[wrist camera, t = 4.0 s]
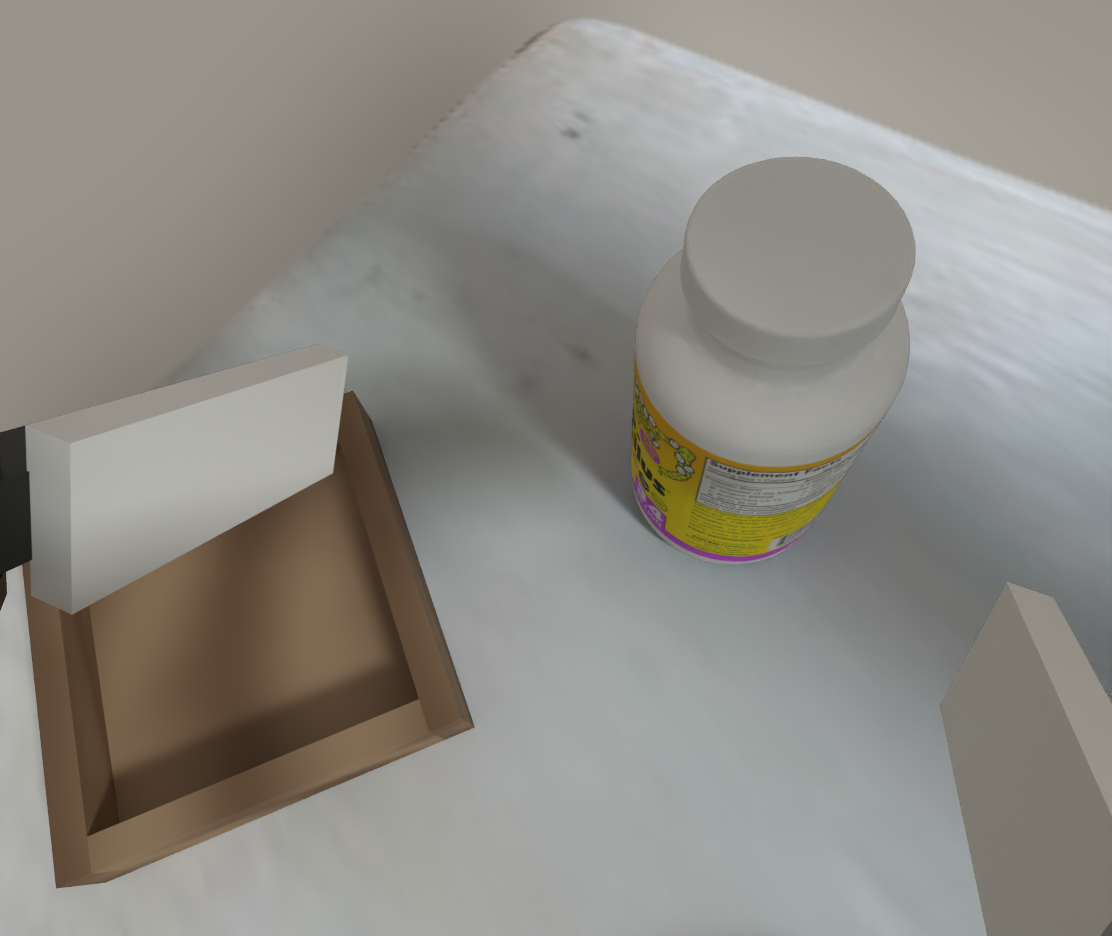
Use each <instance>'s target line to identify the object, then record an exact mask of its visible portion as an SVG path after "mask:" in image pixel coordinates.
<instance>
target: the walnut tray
mask: <svg viewBox="0 0 1112 936" xmlns="http://www.w3.org/2000/svg"><path fill="white" fill-rule="evenodd" d="M22 567H23V577H24V586H25V596H26V605H27V615H28V624H29V634H30V643H31V653H32V662H33V672H34V682H35V691H36V701H37V710H38V720H39V729H40V739H41V748H42V758H43V767H44V777H45V786H46V796H47V805H48V815H49V824H50V834H51V843H52V853H53V862H54V872H55V882H56V888H63V887H72V886H80V885H89V884H97V883H105V882H108V881H110V880H113V879H115V878H117V877H120V876H122V875H124V874H127V873H129V872H132V871H134V870H136V869H139V868H141V867H143V866H146V865H148V864H151V863H153V862H155V861H158V860H160V859H162V858H165V857H167V856H170V855H172V854H174V853H177V852H179V851H181V850H184V849H186V848H189V847H191V846H193V845H196V844H198V843H200V842H203V841H205V840H208V839H210V838H212V837H215V836H217V835H220V834H222V833H224V832H227V831H229V830H231V829H234V828H236V827H239V826H241V825H243V824H246V823H248V822H250V821H253V820H255V819H258V818H260V817H262V816H265V815H267V814H269V813H272V812H274V811H277V810H279V809H281V808H284V807H286V806H288V805H291V804H293V803H296V802H298V801H300V800H303V799H305V798H307V797H310V796H312V795H315V794H317V793H319V792H322V791H324V790H326V789H329V788H331V787H334V786H336V785H338V784H341V783H343V782H345V781H348V780H350V779H353V778H355V777H357V776H360V775H362V774H364V773H367V772H369V771H372V770H374V769H376V768H379V767H381V766H383V765H386V764H388V763H391V762H393V761H395V760H398V759H400V758H403V757H405V756H407V755H410V754H412V753H414V752H417V751H419V750H422V749H424V748H426V747H429V746H431V745H433V744H436V743H438V742H441V741H443V740H445V739H448V738H450V737H452V736H455V735H457V734H460V733H462V732H464V731H467V730H469V729H471V728H474V724H473V721H472V718H471V715H470V712H469V709H468V706H467V703H466V700H465V697H464V694H463V691H462V688H461V685H460V682H459V679H458V677H457V674H456V671H455V668H454V665H453V662H452V659H451V656H450V653H449V650H448V647H447V644H446V641H445V638H444V635H443V632H442V629H441V626H440V623H439V620H438V617H437V614H436V611H435V608H434V605H433V602H432V599H431V596H430V593H429V590H428V587H427V584H426V581H425V578H424V575H423V572H422V569H421V567H420V564H419V561H418V558H417V555H416V552H415V549H414V546H413V543H412V540H411V537H410V534H409V531H408V528H407V525H406V522H405V519H404V516H403V513H402V510H401V507H400V504H399V501H398V498H397V495H396V492H395V489H394V486H393V483H392V480H391V477H390V474H389V471H388V468H387V465H386V462H385V459H384V457H383V454H382V451H381V448H380V445H379V442H378V439H377V436H376V433H375V430H374V427H373V424H372V421H371V419H370V418H369V416H368V414H367V413H366V411H365V409H364V408H363V406H362V405H361V403H360V401H359V400H358V398H357V396H356V395H355V393H354V392H353V391H351V392H348V393H345V394H343V401H342V409H341V416H340V424H339V431H338V438H337V446H336V453H335V461H334V468H333V473H332V474H330V475H329V476H327V477H325V478H323V479H321V480H319V481H318V482H316V483H314V484H312V485H310V486H308V487H306V488H305V489H303V490H301V491H299V492H297V493H295V494H294V495H292V496H290V497H288V498H286V499H284V500H283V501H281V502H279V503H277V504H275V505H273V506H271V507H270V508H268V509H266V510H264V511H262V512H260V513H259V514H257V515H255V516H253V517H251V518H249V519H248V520H246V521H244V522H242V523H240V524H238V525H236V526H235V527H233V528H231V529H229V530H227V531H225V532H224V533H222V534H220V535H218V536H216V537H214V538H213V539H211V540H209V541H207V542H205V543H203V544H201V545H200V546H198V547H196V548H194V549H192V550H190V551H189V552H187V553H185V554H183V555H181V556H179V557H178V558H176V559H174V560H172V561H170V562H168V563H166V564H165V565H163V566H161V567H159V568H157V569H155V570H154V571H152V572H150V573H148V574H146V575H144V576H143V577H141V578H139V579H137V580H135V581H133V582H131V583H130V584H128V585H126V586H124V587H122V588H120V589H119V590H117V591H115V592H113V593H111V594H109V595H108V596H106V597H104V598H102V599H100V600H98V601H96V602H95V603H93V604H91V605H89V606H87V607H85V608H84V609H82V610H80V611H78V612H76V613H74V614H73V615H71V614H69V613H67V612H65V611H63V610H61V609H58V608H56V607H54V606H52V605H50V604H48V603H46V602H43V601H41V600H39V599H37V598H35V597H33V596H31V577H30V561H29V562H26V563H24V564H22Z"/></svg>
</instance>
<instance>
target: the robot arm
mask: <svg viewBox="0 0 1112 936" xmlns="http://www.w3.org/2000/svg"><path fill="white" fill-rule="evenodd" d="M348 356H349V355H347V354H344V353H341V352H338V351H335V350H333V349H330V348H327V347H324V346H321V345H318V344H316V345H313V346H309V347H305V348H302V349H298V350H295V351H291V352H287V353H284V354H280V355H277V356H273V357H269V358H266V359H262V360H259V361H255V362H251V363H248V364H244V365H241V366H237V367H233V368H230V369H226V370H223V371H219V372H215V373H212V374H208V375H205V376H201V377H197V378H194V379H190V380H187V381H183V382H179V383H176V384H172V385H169V386H165V387H161V388H158V389H154V390H151V391H147V392H143V393H140V394H136V395H133V396H129V397H125V398H122V399H118V400H115V401H111V402H107V403H104V404H100V405H97V406H93V407H89V408H86V409H82V410H79V411H75V412H72V413H68V414H64V415H61V416H57V417H53V418H50V419H47V420H43V421H39V422H35V423H32V424H28V425H25V426H22V427H18V428H15V429H11V430H8V431H4V432H0V610H1V608H2V605H3V602H4V600H5V597H6V595H7V583H6V571H9V570H11V569H13V568H15V567H18V566H20V565H22V564H24V563H26V562H29V561H30V577H31V596H33V597H35V598H37V599H39V600H41V601H43V602H46V603H48V604H50V605H52V606H54V607H56V608H58V609H61V610H63V611H65V612H67V613H69V614H71V615H73V614H74V613H76V612H78V611H80V610H82V609H84V608H85V607H87V606H89V605H91V604H93V603H95V602H96V601H98V600H100V599H102V598H104V597H106V596H108V595H109V594H111V593H113V592H115V591H117V590H119V589H120V588H122V587H124V586H126V585H128V584H130V583H131V582H133V581H135V580H137V579H139V578H141V577H143V576H144V575H146V574H148V573H150V572H152V571H154V570H155V569H157V568H159V567H161V566H163V565H165V564H166V563H168V562H170V561H172V560H174V559H176V558H178V557H179V556H181V555H183V554H185V553H187V552H189V551H190V550H192V549H194V548H196V547H198V546H200V545H201V544H203V543H205V542H207V541H209V540H211V539H213V538H214V537H216V536H218V535H220V534H222V533H224V532H225V531H227V530H229V529H231V528H233V527H235V526H236V525H238V524H240V523H242V522H244V521H246V520H248V519H249V518H251V517H253V516H255V515H257V514H259V513H260V512H262V511H264V510H266V509H268V508H270V507H271V506H273V505H275V504H277V503H279V502H281V501H283V500H284V499H286V498H288V497H290V496H292V495H294V494H295V493H297V492H299V491H301V490H303V489H305V488H306V487H308V486H310V485H312V484H314V483H316V482H318V481H319V480H321V479H323V478H325V477H327V476H329V475H330V474H332V473H333V468H334V461H335V453H336V446H337V438H338V431H339V424H340V416H341V409H342V401H343V394H344V386H345V379H346V371H347V364H348ZM940 708H941V713H942V718H943V723H944V728H945V732H946V737H947V742H948V747H949V752H950V757H951V762H952V766H953V771H954V776H955V781H956V786H957V791H958V796H959V800H960V805H961V810H962V815H963V820H964V825H965V830H966V835H967V839H968V844H969V849H970V854H971V859H972V864H973V869H974V873H975V878H976V883H977V888H978V893H979V898H980V903H981V907H982V912H983V917H984V922H985V927H986V932H987V936H1112V703H1111V701H1110V699H1109V698H1108V696H1107V694H1106V692H1105V690H1104V688H1103V687H1102V685H1101V683H1100V681H1099V679H1098V677H1097V676H1096V674H1095V672H1094V670H1093V668H1092V667H1091V665H1090V663H1089V661H1088V659H1087V657H1086V656H1085V654H1084V652H1083V650H1082V648H1081V646H1080V645H1079V643H1078V641H1077V639H1076V637H1075V635H1074V634H1073V632H1072V630H1071V628H1070V626H1069V625H1068V623H1067V621H1066V619H1065V617H1064V615H1063V614H1062V612H1061V610H1060V608H1059V606H1058V604H1057V603H1056V601H1055V599H1054V598H1053V597H1050V596H1047V595H1044V594H1041V593H1039V592H1036V591H1033V590H1030V589H1027V588H1024V587H1021V586H1018V585H1015V584H1012V583H1010V582H1006V584H1005V586H1004V588H1003V590H1002V592H1001V593H1000V595H999V597H998V599H997V601H996V603H995V605H994V606H993V608H992V610H991V612H990V614H989V616H988V618H987V620H986V621H985V623H984V625H983V627H982V629H981V631H980V633H979V634H978V636H977V638H976V640H975V642H974V644H973V646H972V647H971V649H970V651H969V653H968V655H967V657H966V659H965V661H964V662H963V664H962V666H961V668H960V670H959V672H958V674H957V675H956V677H955V679H954V681H953V683H952V685H951V687H950V689H949V690H948V692H947V694H946V696H945V698H944V700H943V702H942V703H941V705H940Z"/></svg>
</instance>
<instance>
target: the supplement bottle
mask: <svg viewBox="0 0 1112 936" xmlns="http://www.w3.org/2000/svg"><path fill="white" fill-rule="evenodd" d="M914 265H915V239H914V236H913V232H912V228H911V225H910V223H909V221H908V219H907V217H906V215H905V213H904V211H903V209H902V208H901V206H900V205H899V204H898V202H897V201H896V200H895V199H894V198H893V197H892V196H891V195H890V193H889V192H888V191H886V190H885V189H884V188H883V187H882V186H881V185H879V184H878V183H877V182H875V181H874V180H873V179H871V178H869V177H867V176H866V175H864V174H862V173H861V172H859V171H857V170H856V169H853V168H850V167H848V166H845V165H842V164H839V163H836V162H832V161H828V160H824V159H818V158H809V157H781V158H774V159H769V160H764V161H760V162H756V163H753V164H749V165H746V166H744V167H741V168H739V169H736V170H735V171H733V172H731V173H729V174H728V175H726V176H724V177H722V178H721V179H720V180H719V181H717V182H716V183H715V184H714V185H712V186H711V187H710V188H709V189H708V190H707V191H706V192H705V193H704V195H703V196H702V197H701V198H700V199H699V201H698V203H697V204H696V206H695V208H694V210H693V212H692V214H691V216H690V218H689V221H688V224H687V228H686V233H685V239H684V247H683V250H681V251H680V252H679V253H677V254H676V255H675V256H674V257H673V258H672V259H670V260H669V262H668V263H667V264H666V265H665V266H664V267H663V269H662V270H661V271H660V272H659V273H658V275H657V276H656V278H655V279H654V281H653V282H652V284H651V285H650V287H649V289H648V291H647V293H646V296H645V298H644V300H643V303H642V306H641V309H640V313H639V317H638V322H637V329H636V340H635V369H634V392H633V418H632V446H631V477H632V485H633V490H634V494H635V497H636V500H637V503H638V506H639V508H640V510H641V512H642V513H643V515H644V517H645V519H646V520H647V521H648V523H649V524H650V526H651V527H652V528H653V529H654V530H655V532H656V533H657V534H658V535H659V536H660V537H661V538H662V539H664V540H665V541H666V542H667V543H669V544H670V545H671V546H673V547H674V548H676V549H677V550H679V551H681V552H683V553H685V554H686V555H689V556H691V557H694V558H696V559H699V560H702V561H705V562H709V563H714V564H723V565H738V564H748V563H755V562H758V561H762V560H765V559H768V558H771V557H773V556H775V555H777V554H779V553H781V552H783V551H785V550H786V549H788V548H789V547H790V546H792V545H793V544H794V543H795V542H797V541H798V540H799V539H800V538H801V537H802V536H803V535H804V534H805V533H806V532H807V530H808V529H809V528H810V527H811V525H812V524H813V523H814V521H815V520H816V518H817V517H818V516H819V514H820V513H821V511H822V510H823V508H824V507H825V505H826V503H827V502H828V500H829V499H830V497H831V496H832V494H833V493H834V491H835V490H836V488H837V487H838V485H839V484H840V482H841V480H842V479H843V478H844V476H845V475H846V473H847V471H848V470H849V468H850V467H851V465H852V464H853V462H854V460H855V459H856V457H857V456H858V454H859V453H860V451H861V450H862V448H863V447H864V445H865V444H866V442H867V441H868V439H869V438H870V436H871V435H872V434H873V432H874V431H875V429H876V428H877V426H878V425H879V423H880V422H881V420H882V419H883V418H884V416H885V415H886V413H887V411H888V410H889V408H890V406H891V405H892V403H893V402H894V400H895V398H896V396H897V394H898V393H899V391H900V388H901V386H902V384H903V381H904V377H905V374H906V371H907V367H908V361H909V354H910V336H909V327H908V320H907V317H906V313H905V310H904V307H903V304H902V302H901V299H902V297H903V294H904V292H905V290H906V288H907V286H908V284H909V281H910V279H911V276H912V272H913V269H914Z"/></svg>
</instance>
